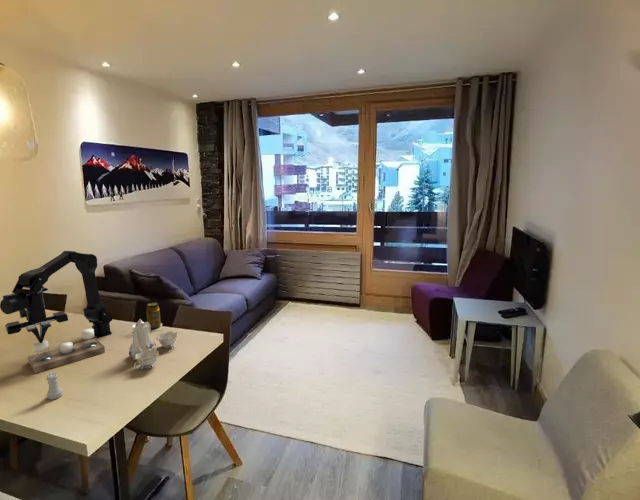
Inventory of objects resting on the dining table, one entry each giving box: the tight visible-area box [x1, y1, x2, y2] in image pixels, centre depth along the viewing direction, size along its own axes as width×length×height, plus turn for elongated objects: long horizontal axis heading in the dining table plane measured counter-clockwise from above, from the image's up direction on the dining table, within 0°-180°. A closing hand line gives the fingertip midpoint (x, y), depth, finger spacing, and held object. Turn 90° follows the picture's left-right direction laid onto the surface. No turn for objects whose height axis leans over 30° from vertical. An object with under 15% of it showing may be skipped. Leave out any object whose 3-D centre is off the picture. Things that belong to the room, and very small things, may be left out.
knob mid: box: [59, 341, 74, 354], centre depth 149 cm, size 4×4×3 cm
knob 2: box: [81, 327, 95, 340], centre depth 154 cm, size 4×4×3 cm
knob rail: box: [27, 337, 106, 374], centre depth 150 cm, size 24×12×3 cm, turn 136°
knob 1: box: [33, 339, 50, 353], centre depth 143 cm, size 4×4×3 cm
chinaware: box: [128, 318, 179, 370], centre depth 150 cm, size 28×17×17 cm, turn 3°
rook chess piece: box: [45, 372, 64, 401], centre depth 123 cm, size 4×4×8 cm
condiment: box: [145, 302, 163, 332], centre depth 179 cm, size 7×8×12 cm
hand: (41, 342), depth 143 cm, fingers closed
